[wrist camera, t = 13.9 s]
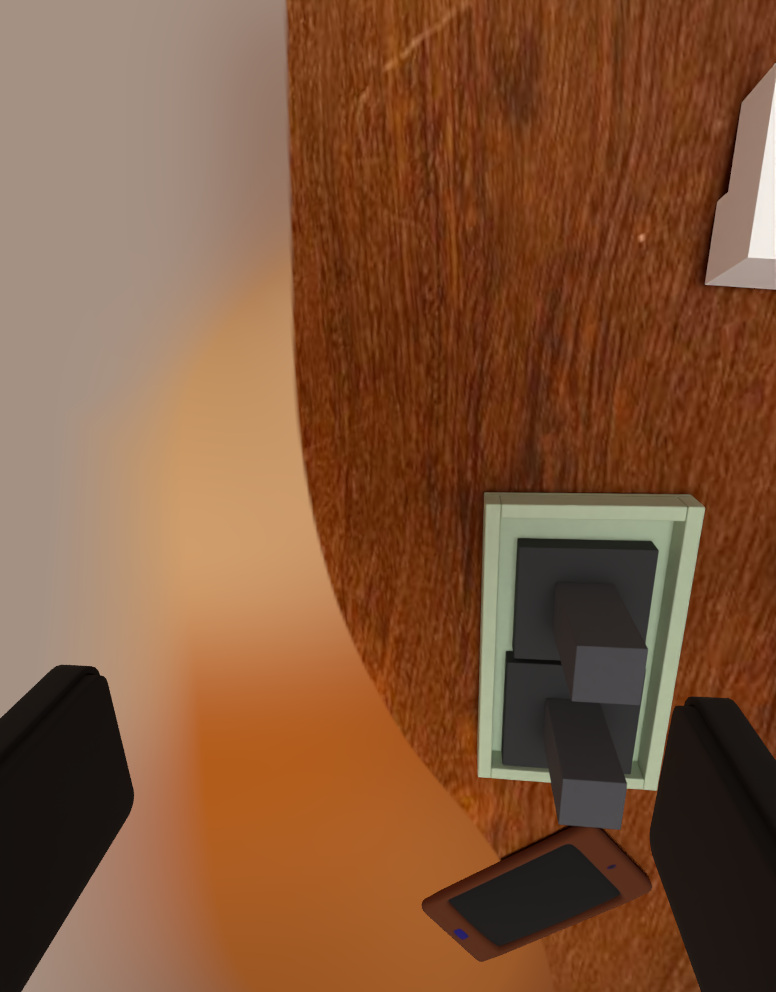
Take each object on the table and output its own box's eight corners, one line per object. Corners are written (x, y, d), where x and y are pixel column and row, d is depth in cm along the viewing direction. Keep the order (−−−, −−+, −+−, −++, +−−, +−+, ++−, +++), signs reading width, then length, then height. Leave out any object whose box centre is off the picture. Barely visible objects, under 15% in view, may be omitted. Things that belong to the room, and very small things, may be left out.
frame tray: (477, 754, 36) (477, 777, 35) (484, 491, 30) (485, 504, 28) (647, 766, 35) (657, 791, 33) (691, 494, 29) (705, 507, 27)
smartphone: (418, 911, 41) (593, 827, 36) (419, 897, 42) (590, 814, 37) (480, 966, 42) (656, 893, 37) (479, 952, 43) (652, 879, 38)
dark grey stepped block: (512, 646, 33) (524, 733, 26) (517, 537, 30) (532, 604, 24) (636, 651, 32) (681, 743, 25) (651, 540, 29) (705, 610, 23)
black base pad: (501, 750, 35) (509, 853, 29) (505, 650, 33) (516, 738, 26) (625, 759, 34) (663, 868, 28) (640, 656, 32) (686, 749, 25)
